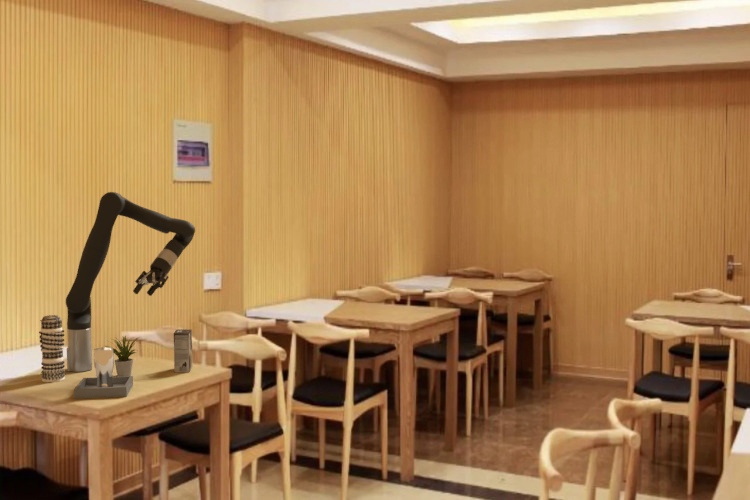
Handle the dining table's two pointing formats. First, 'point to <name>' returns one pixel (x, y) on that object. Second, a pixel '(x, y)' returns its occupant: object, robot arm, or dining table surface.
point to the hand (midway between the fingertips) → (141, 293)
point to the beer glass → (104, 366)
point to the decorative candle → (52, 348)
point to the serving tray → (103, 388)
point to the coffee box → (183, 350)
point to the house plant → (123, 357)
